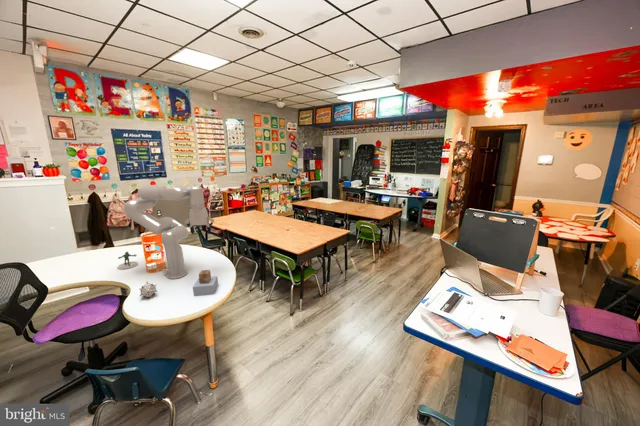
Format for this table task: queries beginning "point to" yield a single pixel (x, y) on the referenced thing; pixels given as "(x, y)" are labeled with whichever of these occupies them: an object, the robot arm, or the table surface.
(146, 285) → the game die
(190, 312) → the table surface
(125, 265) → the monster figurine
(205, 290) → the slate base
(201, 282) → the copper block
